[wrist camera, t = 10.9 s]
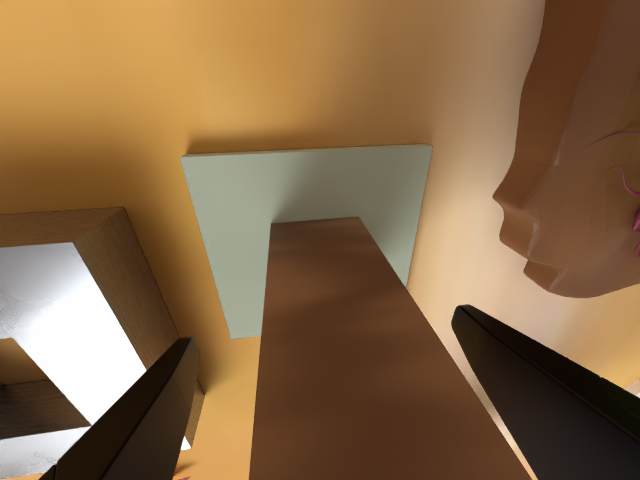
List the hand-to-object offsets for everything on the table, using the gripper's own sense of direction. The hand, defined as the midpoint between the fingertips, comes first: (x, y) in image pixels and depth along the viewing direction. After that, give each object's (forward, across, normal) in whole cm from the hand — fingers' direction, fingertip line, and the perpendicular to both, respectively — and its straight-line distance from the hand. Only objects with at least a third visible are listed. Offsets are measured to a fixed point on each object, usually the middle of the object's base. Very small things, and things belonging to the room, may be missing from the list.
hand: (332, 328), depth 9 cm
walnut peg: (+4, 0, 0) cm, 4 cm away
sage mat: (+5, 0, 0) cm, 5 cm away
